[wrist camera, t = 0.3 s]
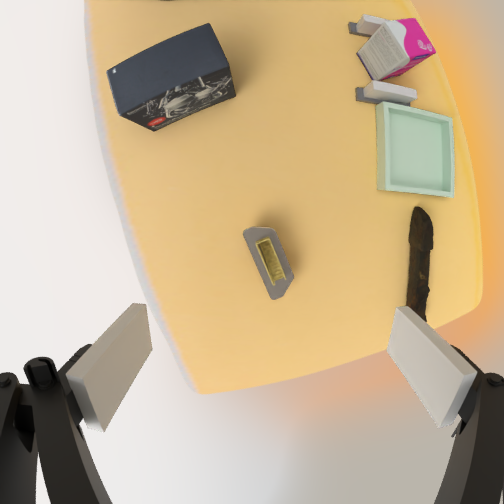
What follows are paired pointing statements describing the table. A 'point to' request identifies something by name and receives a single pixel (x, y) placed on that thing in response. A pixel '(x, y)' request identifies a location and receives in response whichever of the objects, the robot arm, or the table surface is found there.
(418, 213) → the hand tool
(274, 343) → the table surface
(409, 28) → the supplement box
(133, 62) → the small box
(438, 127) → the parts tray
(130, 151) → the table surface
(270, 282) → the platform
